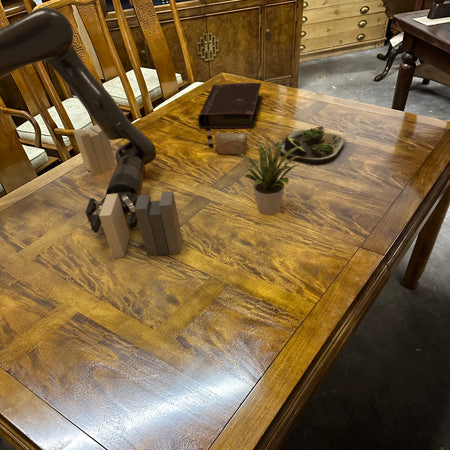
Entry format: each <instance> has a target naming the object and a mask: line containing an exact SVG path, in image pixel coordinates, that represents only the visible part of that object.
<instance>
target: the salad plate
mask: <svg viewBox="0 0 450 450" xmlns="http://www.w3.org/2000/svg"><path fill="white" fill-rule="evenodd" d="M279 142H280V141H278V142H276V143H274V144H273V145H272V148H276V149H277V146H278V144H279ZM344 143H345V140H344V139H343V137H342V136H341V135H338V134H334V133H325V132H324V126H323V125H322V126H321V125H320V126H316V127H314V128H310V129H303V130H302V129H301V130H295V131H293V132H291V133H290V134H289V135H287V136H286V138H285V139H283V142H282V149H281V153H280V154H281V155H282V157H283V156H284V155H285V154H286V153H287V152H288V151H289V150H291V149H293V148H295V147H299V146H303V147H301V148H298V149H296V150H294V151H293V152H292V153H291V154H289V155H288V156H287V157H286V158H285V159H287V160H288V161H289V160H290V159H291V158H293V157H296V156H301V157H297V158H295V159H293V160H292V162H297V163H301V164H308V165H321V164H326V163H328V162H329V161H331V160H333V159H334V158H336V157H337V156H338V154H339V152H340V150H342V147H343V145H344Z"/></svg>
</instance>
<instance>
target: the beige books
mask: <svg viewBox="0 0 450 450" xmlns="http://www.w3.org/2000/svg"><path fill="white" fill-rule="evenodd" d="M72 132H73V136H74V138H75V142H76V144H77V148H78V150H79V153H80V156H81V159H82V162H83V165H84V167H85V168H86V169H87V173H89V174H90V173H91V174H90V175H91V176H92V177H96V176H99V175H101V174H103V173H105V172H109V171H111V170H113V169H116V167H117V161H116V157H115V155H114V151H113V148H112V144H111V142H110V141H111V140H110V139H108V138H107V137H106V135H105V134H104V133H103V131H102V130H101V129H100V127H99V126H98V125H97V124H96V125H92V126H90V128H88V129H86V130H84V129H83V128H78V129H75V130H72ZM110 169H111V170H110ZM100 173H101V174H100ZM98 174H99V175H98Z"/></svg>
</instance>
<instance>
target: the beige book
mask: <svg viewBox="0 0 450 450" xmlns="http://www.w3.org/2000/svg"><path fill="white" fill-rule="evenodd" d="M105 196H106V198H105V197H104V198H105V201H104V204H103V206H102V209H101V212H100V214H99V217H100V220H101V226H102V228H103V232H104V235H105V237H106V240H107V243H108V246H109V248H110V252H111V254H112V257H113V258H114V259H116V258H125V255H126V252H127V247H128V244H129V240H130V237H131V233H130V231H129V228H128V224H127V220H126V217H125V216H126V215H125V214H124V213H123V209H122V206H121V203H120V199H119V196H118V194H107V195H106V194H105Z"/></svg>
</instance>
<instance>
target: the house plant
mask: <svg viewBox="0 0 450 450" xmlns="http://www.w3.org/2000/svg"><path fill="white" fill-rule="evenodd" d="M283 140H284V137H282V138H281V139H280V141H278V142H279V144H278V146H277V148H276V149H275V152H274V155H273V153H272V149H271V146H270V144H269V143H268V141H267V140H266V139H264V142H265V145H266V147H267V149H266V147H265V146H262V145H263V144H261V142H260V141H259V140H257V142H256V143H257V148H258V153H259V161H260V164H259V166H260V167H258V165H257V164H256V163H255V162H254V161H253V160H252V158H251V157H249V156H247V155H246V154H245V153H238V154H237V155H241V156H242V157H244V158H245V159H246V160H247V161H248V162H249V163H250V165H251V166H252V167H253V168H254V169H255V170H256V171H257V173H256V171H255V170H254V169H252V168H251V167H250V166H248V165H246V168H247V169H248V171H249V172H250V173H251V174H250V173H245V174H243V175H242V177H245V178H248V179H250V180H252V181H254V182H253V183H254V184H253V191H254V196H255V201H256V206H257V211H258V212H259V214H261V215H264V216H274V215H277V214H278V213H280V211H281V206H282V202H283V201H282V200H283V196H284V191H285V190H286V189H285V184H286V185H288V183H289V181H290V179H289V177H287V176H286V175H287V174H288V173H289V172H290V171H291V170H293V169H294V168H296V167H299V166H300V164H297V163H295V161H293V159H295V158H297V157H301V156H296V157H293V158H291V159H290V160H289V159H288V161H286V162H285V160H286V159H287V158H286V157H287V156H288V155H289V154H291V153H292V152H293V151H294V150H296V149H298V148H301V147H303V146H299V147H295V148H293V149H291V150H289V151H288V152H287V153H286V154H285V155H284V156H283V155H282V157H281V158H280V156H281V154H282V153H281V149H282V142H283ZM279 158H280V161H279ZM278 161H279V162H278ZM283 163H284V164H283ZM288 164H292V166H289V165H288ZM258 174H259V175H258Z"/></svg>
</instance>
